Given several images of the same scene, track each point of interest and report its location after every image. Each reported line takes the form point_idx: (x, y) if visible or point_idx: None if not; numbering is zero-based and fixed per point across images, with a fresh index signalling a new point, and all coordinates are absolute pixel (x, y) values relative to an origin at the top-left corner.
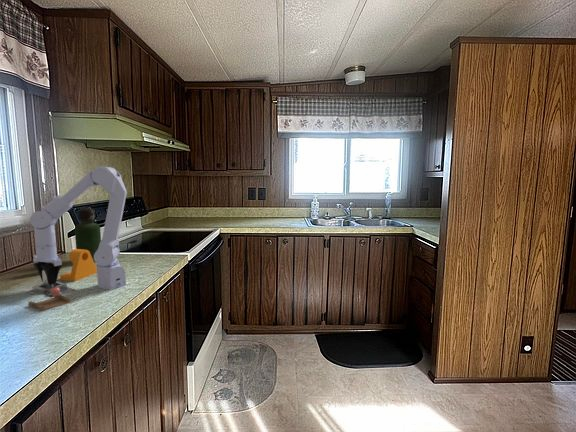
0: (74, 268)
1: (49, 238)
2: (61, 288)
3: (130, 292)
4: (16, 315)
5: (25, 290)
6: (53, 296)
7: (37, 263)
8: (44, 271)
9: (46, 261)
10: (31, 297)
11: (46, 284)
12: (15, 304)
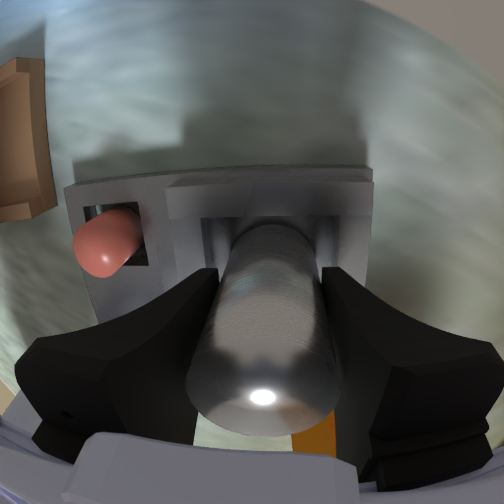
0: None
1: None
2: None
3: (16, 383)
4: (21, 14)
5: (455, 173)
6: (70, 203)
7: (457, 411)
8: (220, 341)
9: (4, 457)
10: (246, 116)
11: (237, 255)
12: (181, 7)
